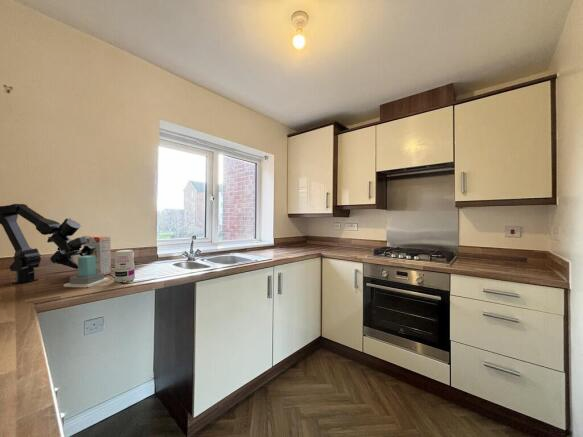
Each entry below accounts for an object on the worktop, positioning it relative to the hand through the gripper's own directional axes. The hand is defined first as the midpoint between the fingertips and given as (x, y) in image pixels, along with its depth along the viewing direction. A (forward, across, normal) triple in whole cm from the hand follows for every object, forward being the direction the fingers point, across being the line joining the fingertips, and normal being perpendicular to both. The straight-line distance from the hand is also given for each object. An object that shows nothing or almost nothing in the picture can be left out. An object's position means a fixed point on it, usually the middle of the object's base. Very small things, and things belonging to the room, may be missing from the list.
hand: (86, 266), depth 121 cm
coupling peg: (+6, 0, +5) cm, 7 cm away
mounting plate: (+6, 0, +6) cm, 8 cm away
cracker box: (0, +16, +13) cm, 21 cm away
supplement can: (+17, +6, -5) cm, 18 cm away
